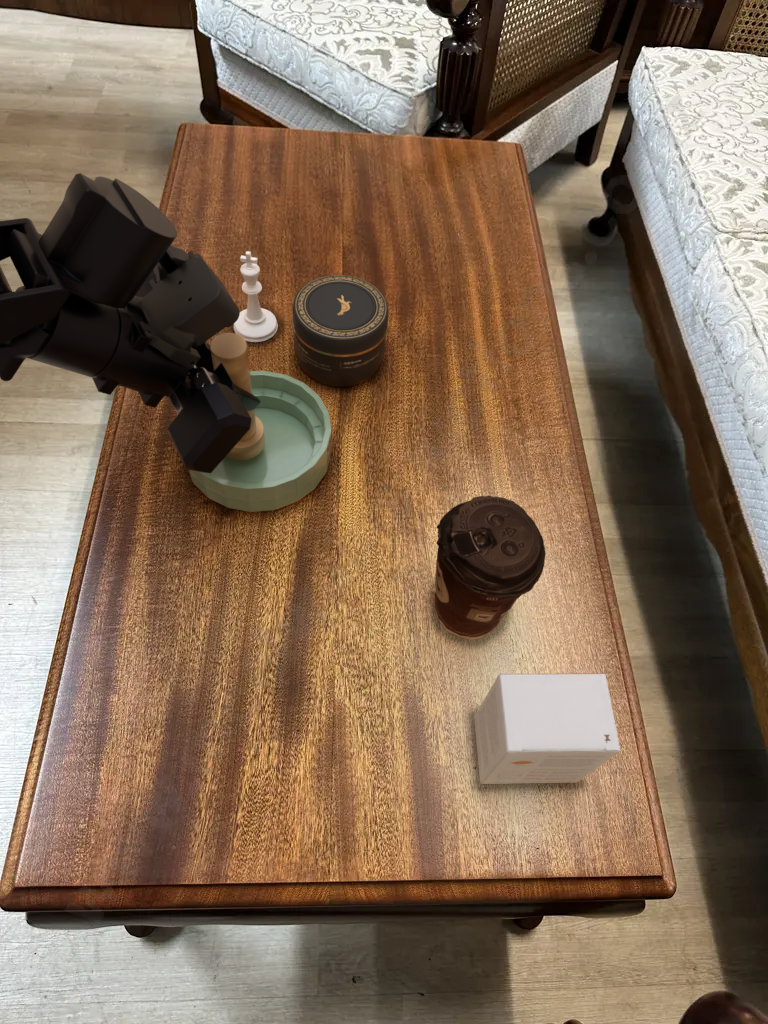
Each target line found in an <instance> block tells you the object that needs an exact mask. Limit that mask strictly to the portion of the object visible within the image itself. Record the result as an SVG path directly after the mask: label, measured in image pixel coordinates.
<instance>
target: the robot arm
mask: <svg viewBox="0 0 768 1024" xmlns="http://www.w3.org/2000/svg"><path fill="white" fill-rule="evenodd" d="M177 236H178V232H177V230H176V227H175V226H174V224H173V222H172V221H171V220H170V219H169V217H168V216H166V214H165V213H163V212H162V210H161V209H160V208H158V207H157V206H156V204H155V203H154V202H152V201H150V200H149V199H148V198H147V197H145V195H144V194H142V193H140V192H139V191H138V190H136V189H135V188H133V187H131V186H130V185H128V184H127V183H125V182H124V181H122V180H119V179H118V178H114V179H111V178H108V177H105V176H96V177H95V179H92V178H90V177H88V176H86V175H85V174H83V173H81V172H80V173H75V174H74V176H73V178H72V180H71V181H70V183H69V185H68V186H67V188H66V190H65V194H64V197H63V200H62V202H61V204H60V206H59V207H58V208H57V211H56V212H55V213H54V215H53V217H52V218H51V220H50V222H49V223H48V225H47V227H46V229H45V230H44V231H43V233H42V234H41V233H39V232H38V230H37V228H36V226H35V224H34V223H33V221H32V220H31V219H30V218H28V217H21V218H15V219H14V218H13V219H7V220H0V262H1V261H4V260H7V259H8V258H9V259H10V261H11V263H13V266H14V269H15V270H16V273H17V275H18V277H19V279H20V281H21V283H22V284H23V285H21V286H19V287H17V288H16V289H15V291H13V290H12V287H11V285H10V282H9V281H8V279H7V277H6V275H5V273H4V271H3V268H2V266H1V265H0V380H1V381H3V382H9V381H11V380H12V379H14V377H15V375H16V373H17V372H18V370H19V369H20V368H21V366H22V364H23V363H24V362H25V360H26V359H29V360H32V361H35V362H39V363H43V364H45V365H48V366H51V367H55V368H59V369H62V370H65V371H68V372H73V373H75V374H79V375H82V376H85V377H89V378H92V381H93V383H94V385H95V387H96V390H97V392H98V393H102V394H105V395H109V396H111V395H112V394H113V392H115V389H116V388H117V387H118V386H119V387H122V388H125V389H128V390H131V391H135V392H138V394H139V396H140V399H141V400H142V402H143V404H144V406H147V407H151V408H155V409H156V408H157V407H158V405H159V404H160V402H161V401H162V400H163V399H164V398H165V397H166V398H168V399H169V401H170V403H171V405H172V407H173V409H174V412H175V413H178V414H177V415H176V416H175V418H174V419H173V420H172V421H171V422H170V424H169V425H168V426H167V431H168V434H169V438H170V440H171V442H172V444H173V446H174V448H175V450H176V452H177V454H178V456H179V458H180V461H181V462H182V464H183V467H184V469H185V470H187V469H188V470H193V471H198V472H202V473H212V472H213V470H214V469H215V468H216V467H217V466H218V465H219V464H220V462H221V461H222V460H223V459H224V458H225V457H226V456H227V455H228V453H229V452H230V451H231V450H232V449H233V448H234V447H235V445H236V444H237V443H238V442H239V441H240V440H241V439H242V438H243V436H244V435H245V434H246V433H247V432H248V431H249V430H250V426H251V417H250V415H249V413H248V411H251V410H254V409H255V408H256V407H257V406H258V405H259V404H260V400H259V398H257V397H256V396H254V395H252V394H251V393H249V392H247V391H245V390H243V389H242V388H240V387H238V386H236V385H234V383H233V381H232V379H231V378H230V376H229V374H228V372H227V371H226V369H225V367H224V365H223V364H222V363H220V364H219V366H218V367H217V368H216V369H215V371H214V367H213V362H212V356H211V350H210V343H208V340H210V339H212V338H214V337H215V336H216V335H217V334H218V333H220V332H221V331H223V330H224V329H226V328H230V327H231V326H234V323H235V322H236V321H237V320H238V318H239V315H240V312H241V310H240V308H239V306H238V305H237V304H236V302H235V301H234V299H233V297H232V295H231V294H230V292H229V291H228V288H227V287H226V285H225V284H224V283H223V282H222V281H221V279H220V278H219V277H218V275H217V274H216V273H215V272H214V271H213V270H212V268H211V267H210V266H209V264H208V263H207V262H206V260H205V259H204V258H203V256H202V255H201V254H200V253H194V251H193V250H190V251H188V252H186V251H185V250H184V249H182V248H178V247H177V246H174V245H172V244H173V243H174V241H175V239H176V238H177ZM188 470H187V471H188Z"/></svg>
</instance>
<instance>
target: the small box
mask: <svg viewBox="0 0 768 1024" xmlns="http://www.w3.org/2000/svg"><path fill="white" fill-rule="evenodd" d="M610 694H611V693H610V689H609V685H608V680H607V675H606V673H605V672H599V673H598V672H596V673H595V672H586V673H585V672H584V673H577V672H576V673H575V672H573V673H571V672H569V673H565V672H564V673H499V674H498V675H497V677H496V679H495V680H494V682H493V683H492V686H491V687H490V689H489V690H488V691H487V694H486V696H485V697H484V699H483V701H482V702H481V704H480V706H479V708H478V709H477V711H476V713H475V715H474V717H473V719H474V731H475V742H476V753H477V764H478V765H477V766H478V774H479V783H480V784H481V785H505V784H507V785H508V784H510V785H511V784H515V785H516V784H577V783H579V782H580V781H582V780H583V779H584V778H586V777H587V776H588V775H590V774H591V773H593V772H594V771H595V770H597V769H599V767H601V766H603V765H604V764H605V763H607V762H608V761H609V760H610V759H612V758H613V757H615V756H616V755H618V754H619V753H620V752H621V746H620V741H619V736H618V731H617V726H616V721H615V715H614V710H613V705H612V700H611V695H610Z"/></svg>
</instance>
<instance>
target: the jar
mask: <svg viewBox="0 0 768 1024" xmlns="http://www.w3.org/2000/svg"><path fill="white" fill-rule="evenodd" d="M291 321H292V323H291V324H292V329H293V346H294V353H295V356H296V359H297V361H298V363H299V366H300V368H301V369H302V370H303V371H304V373H305V374H306V375H307V376H308V377H310V378H311V379H313V380H315V381H316V382H318V383H320V384H323V385H325V386H329V387H336V388H345V387H352V386H355V385H358V384H360V383H363V382H366V381H367V380H368V379H370V378H371V377H372V376H373V375H374V374H375V373H376V371H377V370H378V369H379V366H380V365H381V363H382V361H383V357H384V354H385V348H386V339H387V338H386V337H387V333H388V330H389V306H388V303H387V299H386V298H385V296H384V294H383V293H382V292H381V290H380V289H379V288H377V287H376V286H375V285H374V284H372V283H370V282H369V281H367V280H365V279H362V278H360V277H356V276H352V275H346V274H331V275H325V276H321V277H318V278H314V279H313V280H311V281H309V282H307V283H306V284H304V285H303V286H302V287H301V288H300V289H299V290H298V291H297V293H296V295H295V297H294V299H293V303H292V318H291Z"/></svg>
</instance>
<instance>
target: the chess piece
mask: <svg viewBox="0 0 768 1024" xmlns="http://www.w3.org/2000/svg"><path fill="white" fill-rule="evenodd" d="M239 259H240V262H242V263H243V264H242V265H241V266H240V268H239V271H240V274H241V275H242V278H243V279H244V281H243V283H242V284H241V290H242V292H243V293H244V294H246V295H247V304H246V305H247V307H246V308H245V309H243V310H240V315H239V318H238V320H237V321H236V322H235V323H234V324H233V331H234V333H235V334H238V335H240V336H242V337H243V338H244V339H245V341H246V342H251V343H262V342H265V341H268V340H270V339H271V338H273V337H274V336H275V335H276V333H277V332H278V329H279V324H278V321H277V317H276V316H275V314H274V313H273V312H272V311H270V310H269V309H266V308H263V307H261V303H260V300H259V295H258V294H260V293H261V292H262V290H263V285H262V284H261V282H260V281H259V280H258V277H259V275H260V272H261V268H260V266H259V265H258V262H259V259H258V257H254V256H252V252H251V251H249V250H246V251H245V255H242V254H241V255H240V257H239Z"/></svg>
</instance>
